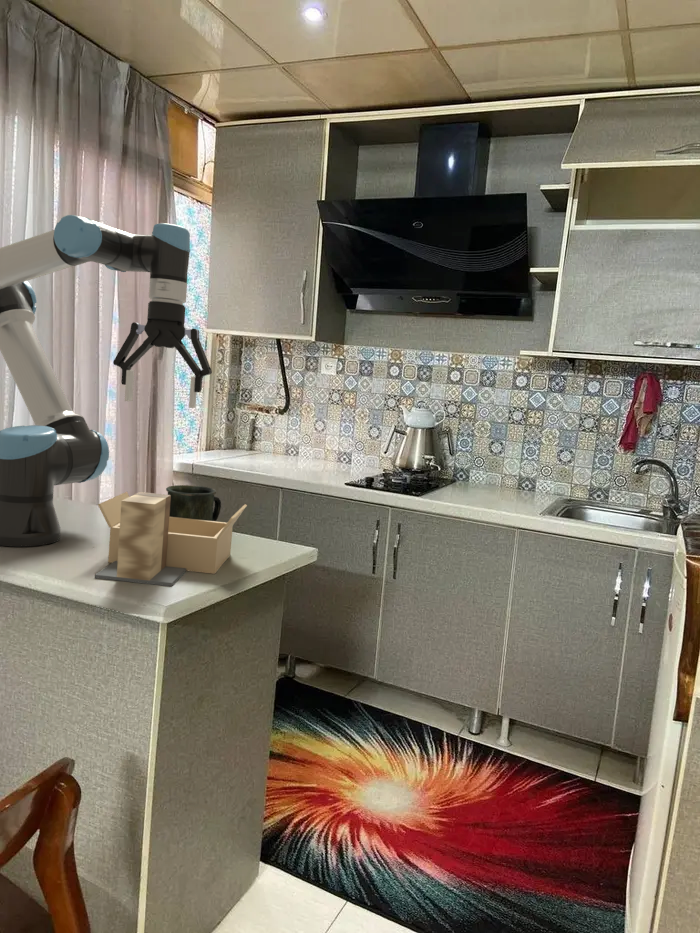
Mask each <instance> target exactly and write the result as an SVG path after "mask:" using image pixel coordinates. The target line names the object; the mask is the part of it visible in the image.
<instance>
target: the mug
mask: <svg viewBox="0 0 700 933" xmlns="http://www.w3.org/2000/svg"><path fill="white" fill-rule="evenodd" d="M165 491H166V492H167V495H171V501H170V515H169V517H178V518H188V519H197V520H206V521H216V522H217V521H218V519H219V515H220V513H221V508H222V501H221V498H220V497H218V496H215V495H216V494H217V490H216V489H215V488H212V487H208V486H207V487H206V486H203V485H192V484H191V485H190V484H177V485H171V486H168V487H166V488H165Z"/></svg>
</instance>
